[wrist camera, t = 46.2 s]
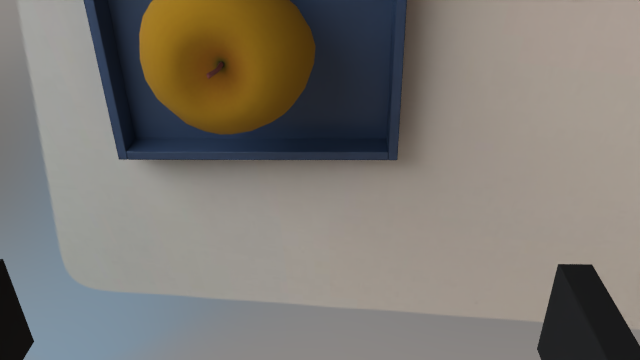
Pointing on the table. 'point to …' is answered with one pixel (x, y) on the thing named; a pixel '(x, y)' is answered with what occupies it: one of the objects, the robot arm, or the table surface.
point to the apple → (226, 60)
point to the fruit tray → (304, 115)
